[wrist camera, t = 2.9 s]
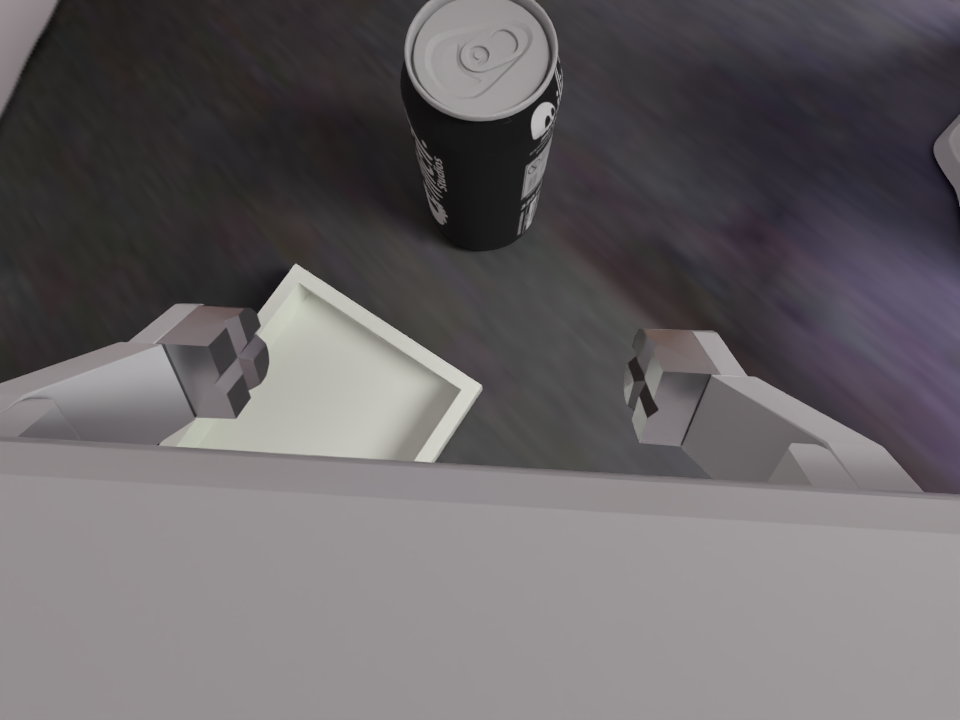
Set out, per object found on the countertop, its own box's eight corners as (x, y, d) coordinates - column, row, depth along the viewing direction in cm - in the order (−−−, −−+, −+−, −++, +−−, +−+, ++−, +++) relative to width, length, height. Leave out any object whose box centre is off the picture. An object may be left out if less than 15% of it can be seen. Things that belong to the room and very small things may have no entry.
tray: (311, 277, 28) (295, 263, 26) (482, 389, 27) (482, 385, 24) (182, 451, 27) (152, 453, 24) (357, 579, 25) (344, 594, 23)
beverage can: (413, 188, 29) (361, 19, 17) (502, 141, 29) (513, -56, 18) (463, 274, 28) (445, 158, 16) (555, 224, 28) (604, 75, 17)
